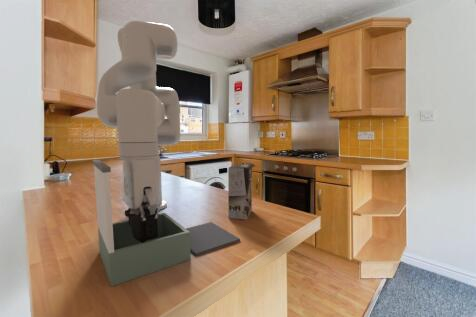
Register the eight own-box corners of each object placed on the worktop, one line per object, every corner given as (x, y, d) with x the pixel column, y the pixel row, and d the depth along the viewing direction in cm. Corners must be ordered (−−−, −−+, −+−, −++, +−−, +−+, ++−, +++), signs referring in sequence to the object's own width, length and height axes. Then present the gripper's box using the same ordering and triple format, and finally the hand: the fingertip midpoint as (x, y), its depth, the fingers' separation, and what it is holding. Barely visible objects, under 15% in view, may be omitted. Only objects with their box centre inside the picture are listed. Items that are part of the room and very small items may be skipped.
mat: (171, 234, 63) (171, 232, 63) (211, 223, 70) (211, 221, 70) (196, 256, 51) (195, 253, 51) (240, 241, 59) (240, 238, 59)
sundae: (133, 249, 55) (129, 184, 53) (163, 247, 55) (160, 184, 54) (121, 264, 48) (117, 192, 47) (155, 263, 49) (152, 191, 47)
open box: (98, 252, 53) (92, 159, 51) (165, 235, 62) (162, 155, 60) (109, 287, 41) (102, 167, 39) (190, 259, 50) (188, 161, 48)
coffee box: (248, 219, 73) (248, 167, 71) (227, 218, 74) (227, 167, 73) (252, 210, 82) (252, 164, 80) (234, 209, 83) (233, 163, 81)
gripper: (111, 150, 54) (115, 223, 56) (129, 154, 40) (133, 251, 42) (145, 148, 58) (148, 216, 60) (172, 152, 45) (174, 240, 46)
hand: (142, 230), depth 51 cm, fingers open, 9 cm apart
